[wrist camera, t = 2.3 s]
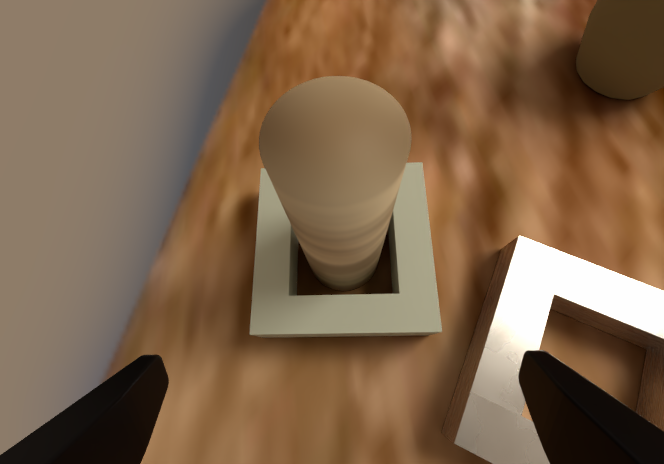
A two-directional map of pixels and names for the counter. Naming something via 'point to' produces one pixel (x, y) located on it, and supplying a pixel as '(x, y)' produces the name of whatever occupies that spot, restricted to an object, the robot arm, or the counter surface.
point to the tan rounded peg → (337, 172)
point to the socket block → (526, 334)
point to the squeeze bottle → (623, 48)
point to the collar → (346, 310)
